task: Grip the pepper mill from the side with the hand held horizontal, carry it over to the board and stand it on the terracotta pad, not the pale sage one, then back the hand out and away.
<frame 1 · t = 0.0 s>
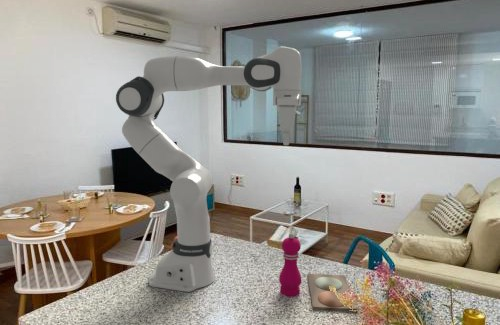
hand: (285, 143, 120), 48 cm above the kitchen counter, tool pointing down, fingers open, 8 cm apart
colour board: (329, 292, 121), on the kitchen counter
pepper mill: (289, 292, 121), on the kitchen counter
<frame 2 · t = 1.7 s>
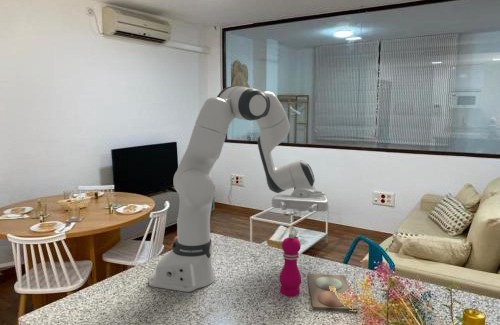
hand: (297, 208, 129), 25 cm above the kitchen counter, tool horizontal, fingers open, 8 cm apart
nothing on the kitchen counter moved.
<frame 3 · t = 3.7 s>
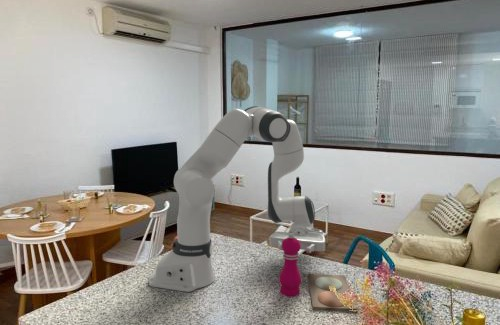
hand: (294, 249, 128), 11 cm above the kitchen counter, tool horizontal, fingers open, 8 cm apart
nothing on the kitchen counter moved.
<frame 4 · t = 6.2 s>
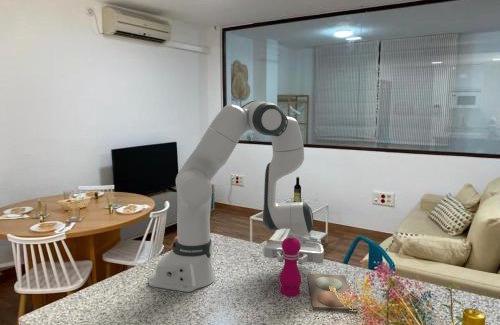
hand: (290, 261, 118), 11 cm above the kitchen counter, tool horizontal, fingers closed on pepper mill, 5 cm apart
pepper mill: (289, 292, 121), on the kitchen counter, touching gripper
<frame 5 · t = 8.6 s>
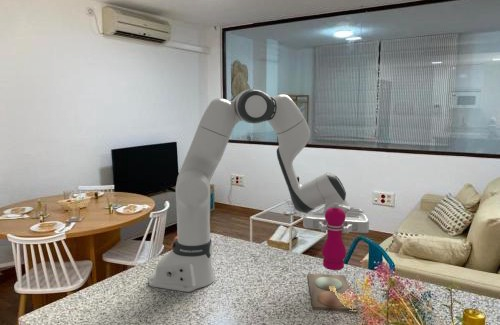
hand: (334, 230, 111), 23 cm above the kitchen counter, tool horizontal, fingers closed on pepper mill, 5 cm apart
pepper mill: (333, 266, 114), point 11 cm above the kitchen counter, touching gripper
when the fingers open (14 cm above the kitchen counter, at t = 11.2 s): pepper mill stays where it is, resting on colour board.
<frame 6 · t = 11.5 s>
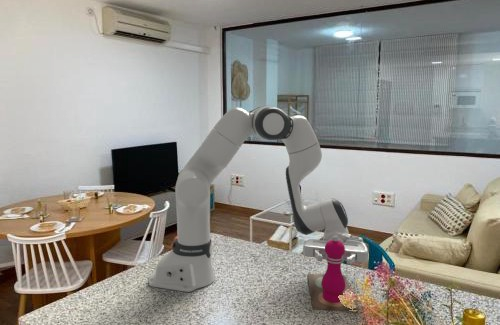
hand: (334, 260, 112), 14 cm above the kitchen counter, tool horizontal, fingers open, 7 cm apart
pepper mill: (332, 298, 115), point 1 cm above the kitchen counter, touching colour board
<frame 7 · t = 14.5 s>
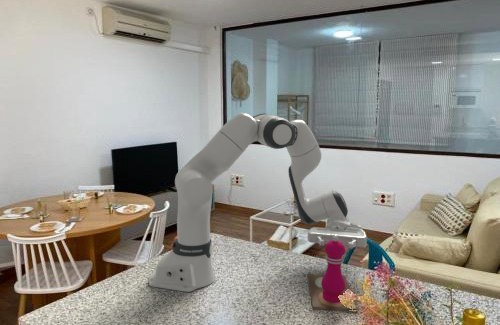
hand: (336, 245, 124), 14 cm above the kitchen counter, tool horizontal, fingers open, 8 cm apart
nothing on the kitchen counter moved.
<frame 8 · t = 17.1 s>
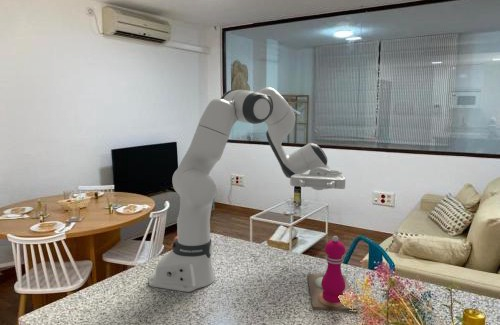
hand: (316, 185, 132), 32 cm above the kitchen counter, tool horizontal, fingers open, 8 cm apart
nothing on the kitchen counter moved.
at the end: pepper mill 0.2 cm from the target spot on the colour board, point 1.1 cm above the colour board's base; pepper mill tilted 0°; the gripper is holding nothing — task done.
